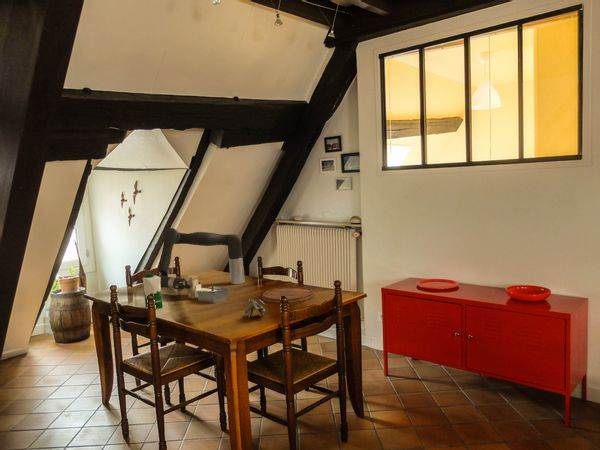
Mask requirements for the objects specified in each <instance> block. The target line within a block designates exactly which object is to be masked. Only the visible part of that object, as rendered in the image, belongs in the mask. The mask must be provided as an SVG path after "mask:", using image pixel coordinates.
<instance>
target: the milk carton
mask: <svg viewBox="0 0 600 450" xmlns="http://www.w3.org/2000/svg"><path fill="white" fill-rule="evenodd" d="M160 279H161V277H159V276H155V275H154V273H153V272H148V273H147V272H146V273H145V277H142V282H143V292H144V303H145V308H146V307H147V296H148V295H149V294H153V295H154V300H155V305H156V309H155V310H158V309H163V308H162V307H163V298H162V288H161V285H160ZM157 308H158V309H157Z"/></svg>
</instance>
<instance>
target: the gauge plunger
mask: <svg viewBox="0 0 600 450" xmlns="http://www.w3.org/2000/svg"><path fill="white" fill-rule="evenodd" d="M213 286H214V283H211V285H210V287H211V288H212V289H209V288H206V287H202V284H198V285H195V297H197V298H198V290H204V291H212V292H215V291H218V290H215V289H213Z"/></svg>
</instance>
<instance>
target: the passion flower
mask: <svg viewBox="0 0 600 450" xmlns="http://www.w3.org/2000/svg"><path fill="white" fill-rule="evenodd" d="M258 301H260V303H258V302H257V301H255V300H253V299H249V300H248V303H249V304H250V306H249V307H248V308H246V309H245V308H244V307H243V306H241V311H243V310H244V314H243V316H244V317H245V315H246V314H248V317H247V319H249V318H250V316H252V314H253V313H254V311H256V310H257V312H260V315H261V317H265V315H264V314H266V309H265V308H264V307H263V306H262V305H266V304H265V303H264V302H265V301H263V300H262V299H259V300H258ZM261 304H262V305H261Z"/></svg>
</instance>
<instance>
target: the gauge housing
mask: <svg viewBox="0 0 600 450" xmlns="http://www.w3.org/2000/svg"><path fill="white" fill-rule="evenodd" d="M208 289H212V288H211V286H209V287H208ZM213 289H215V290H218V291H215V292H212V291H204V290H198V297H197V301H198V302H201V303H210V304H217V303H219V302H222V301H224V300H227V299H229V291H228V289H229V288H228V287H224V286H222V287H220V286H215V285H213Z"/></svg>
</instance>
